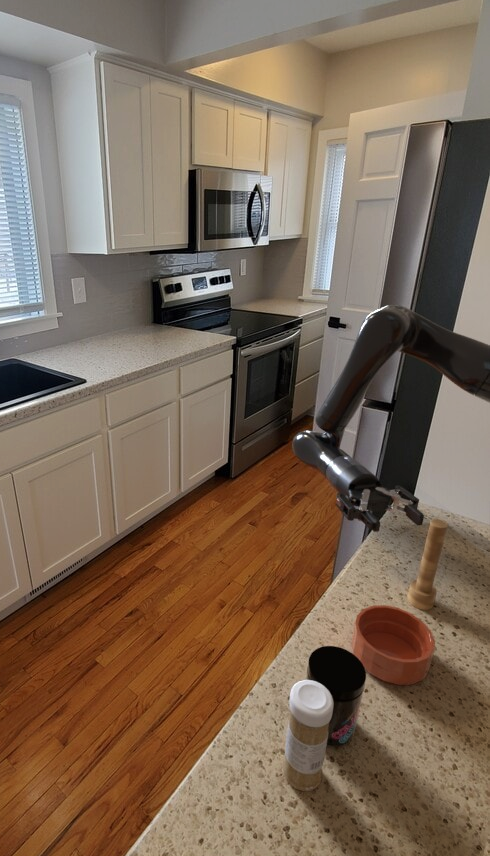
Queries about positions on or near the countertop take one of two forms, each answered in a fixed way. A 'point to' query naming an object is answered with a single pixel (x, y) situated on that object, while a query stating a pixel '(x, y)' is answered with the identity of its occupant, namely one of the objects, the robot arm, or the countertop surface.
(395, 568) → the countertop surface
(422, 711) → the countertop surface
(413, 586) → the muddler
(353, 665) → the supplement container
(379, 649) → the bowl
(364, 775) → the countertop surface
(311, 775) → the sprinkles bottle
